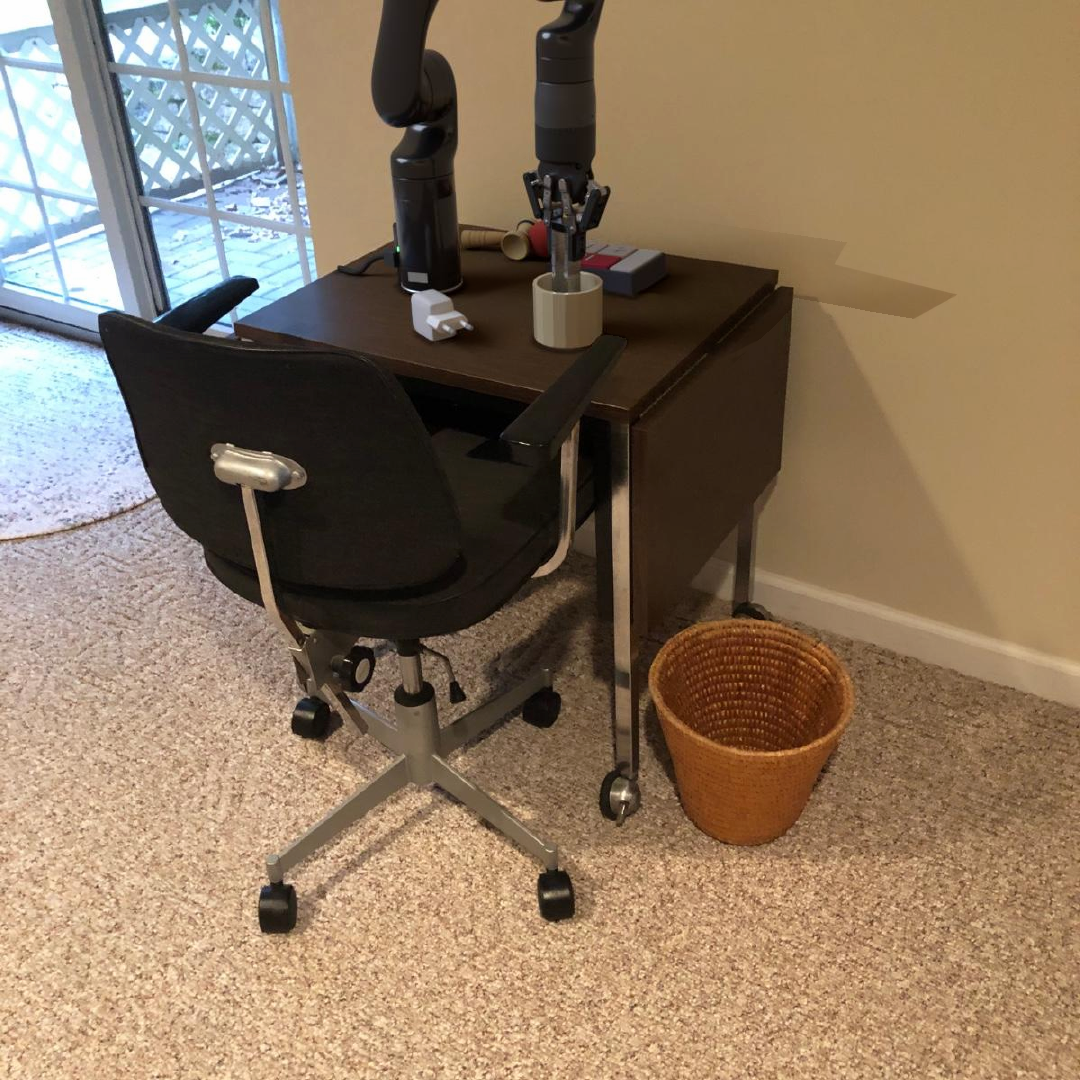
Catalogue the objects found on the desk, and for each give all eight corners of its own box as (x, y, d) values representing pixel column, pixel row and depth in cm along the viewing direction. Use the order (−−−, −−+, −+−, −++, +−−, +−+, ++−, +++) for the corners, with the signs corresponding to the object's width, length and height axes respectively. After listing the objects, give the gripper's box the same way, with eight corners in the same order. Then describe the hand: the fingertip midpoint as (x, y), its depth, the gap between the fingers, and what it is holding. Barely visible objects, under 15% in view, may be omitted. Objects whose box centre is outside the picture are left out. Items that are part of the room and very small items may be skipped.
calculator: (581, 238, 171) (666, 247, 164) (583, 265, 173) (666, 275, 166) (545, 258, 163) (632, 268, 156) (547, 286, 165) (633, 297, 158)
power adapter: (480, 350, 144) (478, 308, 140) (449, 359, 141) (446, 317, 138) (439, 325, 151) (436, 285, 148) (409, 333, 149) (405, 293, 146)
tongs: (550, 325, 145) (548, 220, 138) (564, 319, 147) (564, 215, 139) (568, 331, 143) (567, 226, 135) (582, 326, 145) (583, 221, 137)
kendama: (455, 264, 177) (555, 260, 170) (451, 224, 175) (551, 219, 168) (476, 258, 184) (573, 254, 176) (472, 220, 182) (570, 214, 174)
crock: (520, 340, 146) (518, 283, 142) (567, 320, 152) (567, 265, 147) (569, 358, 141) (568, 299, 136) (616, 337, 146) (617, 280, 142)
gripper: (629, 121, 128) (625, 262, 138) (546, 105, 137) (548, 239, 146) (586, 132, 124) (585, 277, 134) (503, 115, 132) (508, 252, 142)
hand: (565, 256), depth 140 cm, fingers closed on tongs, 3 cm apart
